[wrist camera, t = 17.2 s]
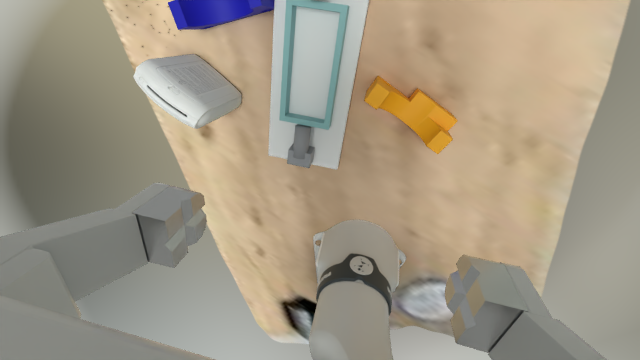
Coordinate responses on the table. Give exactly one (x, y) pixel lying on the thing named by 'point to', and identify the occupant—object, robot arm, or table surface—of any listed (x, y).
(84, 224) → the robot arm
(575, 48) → the table surface
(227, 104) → the photo printer
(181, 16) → the blue curved cradle
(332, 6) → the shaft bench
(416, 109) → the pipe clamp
